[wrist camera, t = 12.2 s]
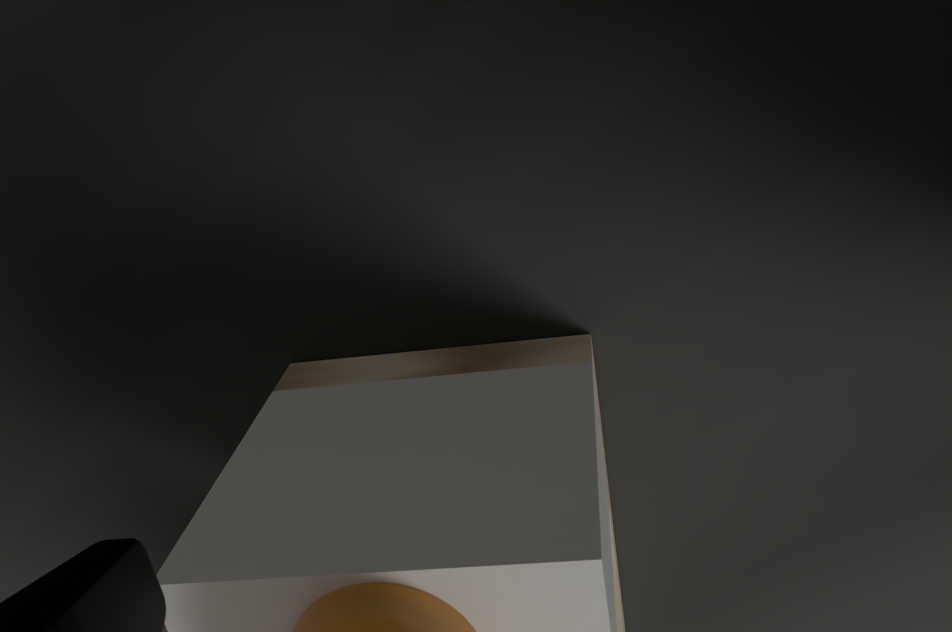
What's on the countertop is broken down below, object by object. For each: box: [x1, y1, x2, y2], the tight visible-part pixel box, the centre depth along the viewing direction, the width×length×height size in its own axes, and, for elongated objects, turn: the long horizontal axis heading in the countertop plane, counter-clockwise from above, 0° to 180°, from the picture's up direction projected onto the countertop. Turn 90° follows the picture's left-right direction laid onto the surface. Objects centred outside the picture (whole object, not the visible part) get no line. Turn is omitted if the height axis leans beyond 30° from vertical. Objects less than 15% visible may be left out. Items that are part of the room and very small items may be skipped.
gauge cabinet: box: [156, 361, 617, 632], centre depth 19 cm, size 8×5×7 cm, turn 99°
